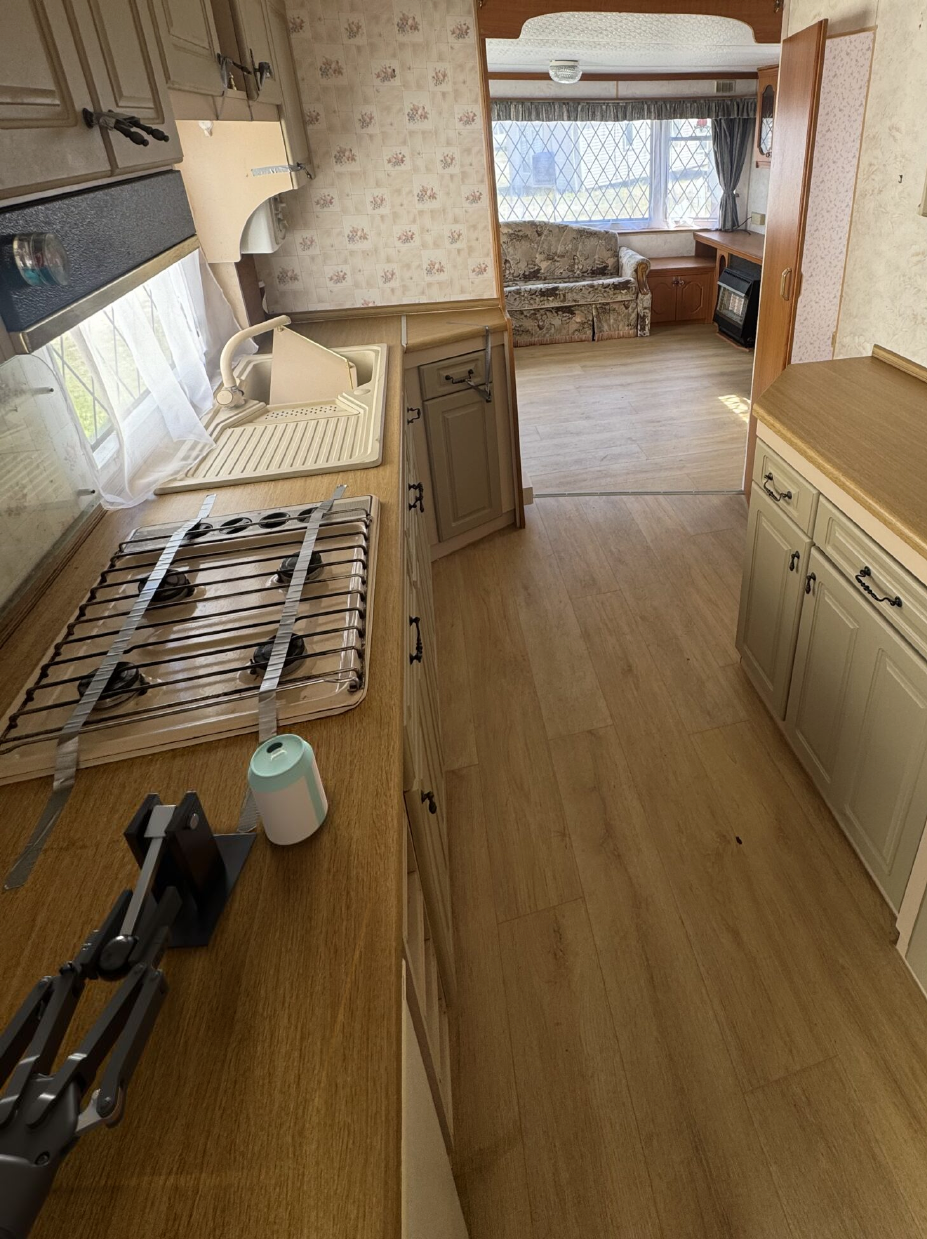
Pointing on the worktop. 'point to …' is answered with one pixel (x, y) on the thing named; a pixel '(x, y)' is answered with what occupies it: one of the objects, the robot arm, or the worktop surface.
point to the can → (287, 789)
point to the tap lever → (136, 902)
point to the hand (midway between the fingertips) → (153, 896)
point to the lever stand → (190, 868)
